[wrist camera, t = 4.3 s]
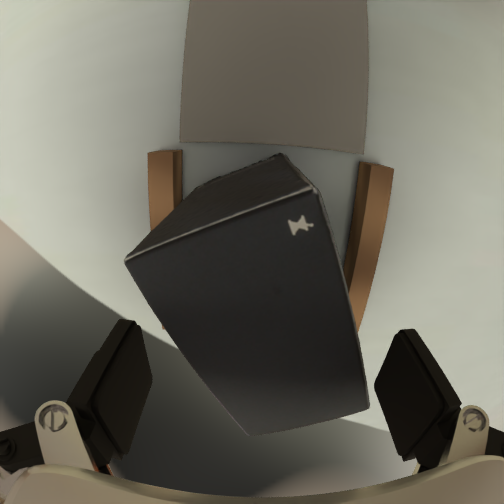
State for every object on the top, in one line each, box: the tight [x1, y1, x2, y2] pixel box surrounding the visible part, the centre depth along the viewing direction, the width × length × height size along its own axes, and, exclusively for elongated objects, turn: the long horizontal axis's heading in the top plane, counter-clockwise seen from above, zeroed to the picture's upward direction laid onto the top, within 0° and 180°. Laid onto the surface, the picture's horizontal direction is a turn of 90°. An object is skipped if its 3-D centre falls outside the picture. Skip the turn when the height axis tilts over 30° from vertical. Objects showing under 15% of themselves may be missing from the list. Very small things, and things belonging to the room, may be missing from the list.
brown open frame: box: [148, 150, 394, 332], centre depth 18 cm, size 12×14×2 cm
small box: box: [124, 153, 370, 436], centre depth 14 cm, size 11×6×10 cm, turn 22°
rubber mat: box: [180, 0, 369, 154], centre depth 13 cm, size 13×11×1 cm
